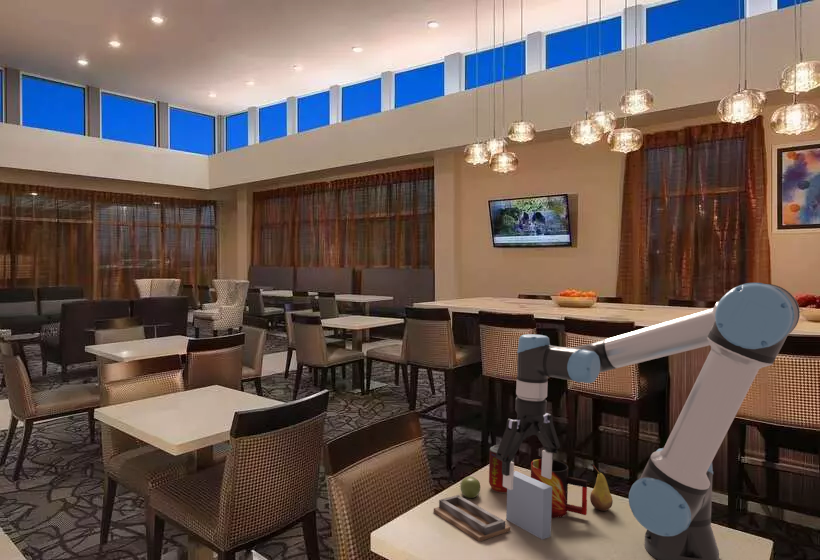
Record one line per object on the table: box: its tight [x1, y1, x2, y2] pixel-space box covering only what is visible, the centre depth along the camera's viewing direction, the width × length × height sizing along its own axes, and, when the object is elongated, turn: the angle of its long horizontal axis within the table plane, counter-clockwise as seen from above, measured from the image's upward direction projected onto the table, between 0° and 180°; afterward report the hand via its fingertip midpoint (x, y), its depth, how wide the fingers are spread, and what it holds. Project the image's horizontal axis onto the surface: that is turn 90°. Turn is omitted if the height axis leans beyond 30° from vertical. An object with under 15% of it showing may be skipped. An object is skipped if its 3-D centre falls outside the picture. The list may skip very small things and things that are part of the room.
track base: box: [433, 494, 511, 542], centre depth 135 cm, size 18×10×3 cm, turn 34°
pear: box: [460, 475, 481, 499], centre depth 152 cm, size 6×5×10 cm
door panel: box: [505, 470, 552, 540], centre depth 132 cm, size 12×3×12 cm, turn 34°
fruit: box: [589, 463, 614, 512], centre depth 143 cm, size 6×6×12 cm
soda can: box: [488, 444, 515, 494], centre depth 155 cm, size 7×7×12 cm
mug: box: [530, 458, 588, 519], centre depth 142 cm, size 10×14×12 cm
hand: (527, 482), depth 132 cm, fingers open, 13 cm apart
